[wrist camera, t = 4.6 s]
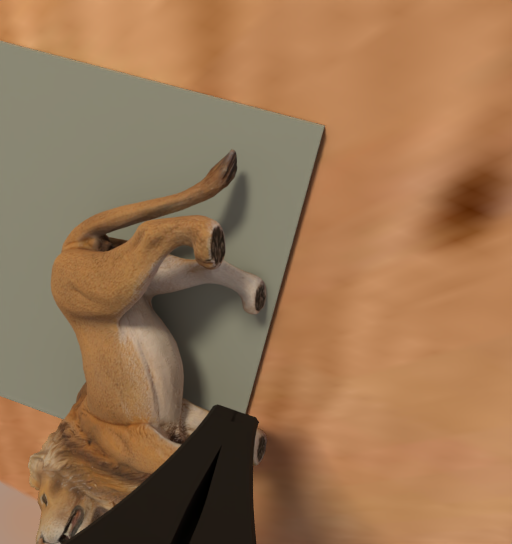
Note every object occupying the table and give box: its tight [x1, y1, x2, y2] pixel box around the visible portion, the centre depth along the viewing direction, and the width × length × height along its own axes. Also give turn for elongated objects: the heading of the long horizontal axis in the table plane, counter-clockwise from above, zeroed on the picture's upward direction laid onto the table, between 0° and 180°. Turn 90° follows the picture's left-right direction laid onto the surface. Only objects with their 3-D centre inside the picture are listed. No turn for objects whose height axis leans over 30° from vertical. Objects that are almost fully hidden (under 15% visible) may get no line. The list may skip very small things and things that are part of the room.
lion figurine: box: [28, 149, 267, 544], centre depth 15 cm, size 15×5×9 cm
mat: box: [0, 41, 325, 419], centre depth 17 cm, size 12×16×1 cm
